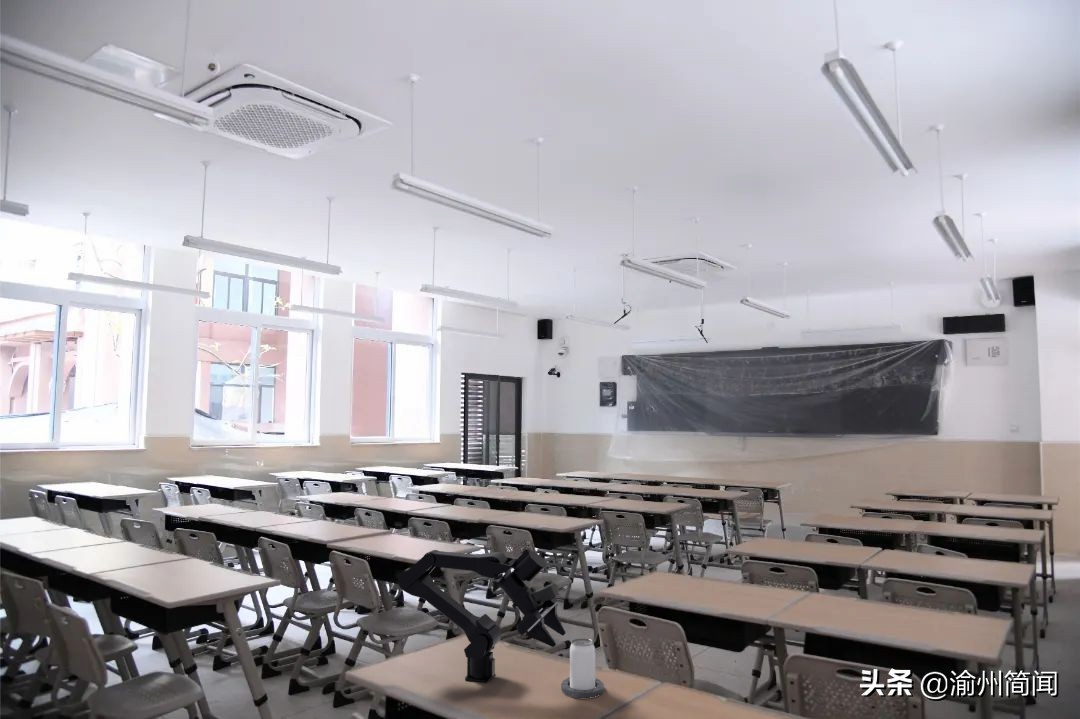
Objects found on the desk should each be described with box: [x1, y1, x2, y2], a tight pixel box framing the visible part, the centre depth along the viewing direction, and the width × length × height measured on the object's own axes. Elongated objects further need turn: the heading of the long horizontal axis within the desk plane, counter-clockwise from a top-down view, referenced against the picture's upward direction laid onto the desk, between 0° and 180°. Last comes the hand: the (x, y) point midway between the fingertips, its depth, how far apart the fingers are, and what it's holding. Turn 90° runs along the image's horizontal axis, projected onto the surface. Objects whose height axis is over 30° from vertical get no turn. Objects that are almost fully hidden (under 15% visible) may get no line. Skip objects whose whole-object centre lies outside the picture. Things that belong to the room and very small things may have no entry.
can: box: [569, 637, 596, 690], centre depth 176 cm, size 6×6×12 cm
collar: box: [560, 676, 605, 699], centre depth 175 cm, size 10×10×2 cm
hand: (559, 640), depth 178 cm, fingers open, 9 cm apart
